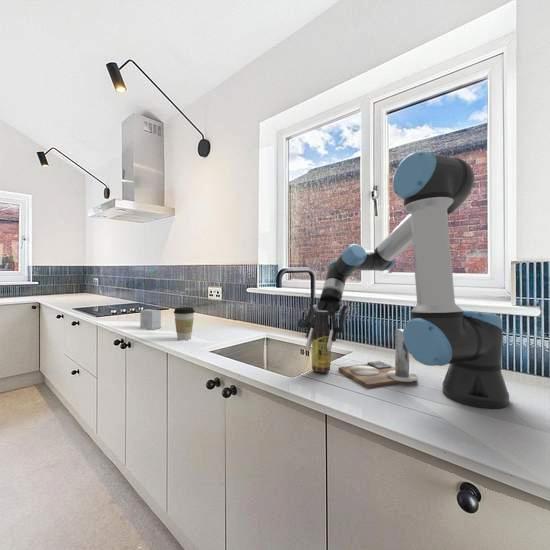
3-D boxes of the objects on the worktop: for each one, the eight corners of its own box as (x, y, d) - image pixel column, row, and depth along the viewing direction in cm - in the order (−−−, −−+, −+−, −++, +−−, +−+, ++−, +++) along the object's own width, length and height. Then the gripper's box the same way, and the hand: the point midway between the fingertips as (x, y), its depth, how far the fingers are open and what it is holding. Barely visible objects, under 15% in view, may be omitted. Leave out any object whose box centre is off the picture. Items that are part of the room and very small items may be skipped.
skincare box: (161, 328, 178) (161, 310, 178) (151, 330, 172) (151, 311, 172) (149, 326, 183) (149, 308, 183) (139, 328, 178) (139, 310, 177)
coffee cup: (197, 339, 149) (197, 308, 149) (177, 342, 143) (177, 310, 143) (190, 336, 157) (190, 306, 157) (171, 338, 152) (171, 308, 151)
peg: (412, 376, 94) (412, 331, 94) (401, 378, 93) (401, 331, 93) (402, 372, 98) (403, 328, 98) (392, 373, 97) (392, 329, 96)
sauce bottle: (319, 374, 99) (318, 312, 98) (308, 369, 104) (307, 310, 104) (335, 371, 102) (335, 311, 101) (323, 366, 107) (323, 309, 107)
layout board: (424, 383, 93) (424, 377, 93) (373, 391, 87) (373, 384, 87) (384, 365, 110) (384, 359, 110) (338, 370, 104) (338, 365, 104)
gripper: (359, 301, 112) (349, 357, 98) (309, 299, 121) (293, 350, 106) (357, 287, 107) (346, 344, 93) (305, 286, 116) (287, 338, 101)
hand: (318, 347), depth 100 cm, fingers closed on sauce bottle, 6 cm apart
